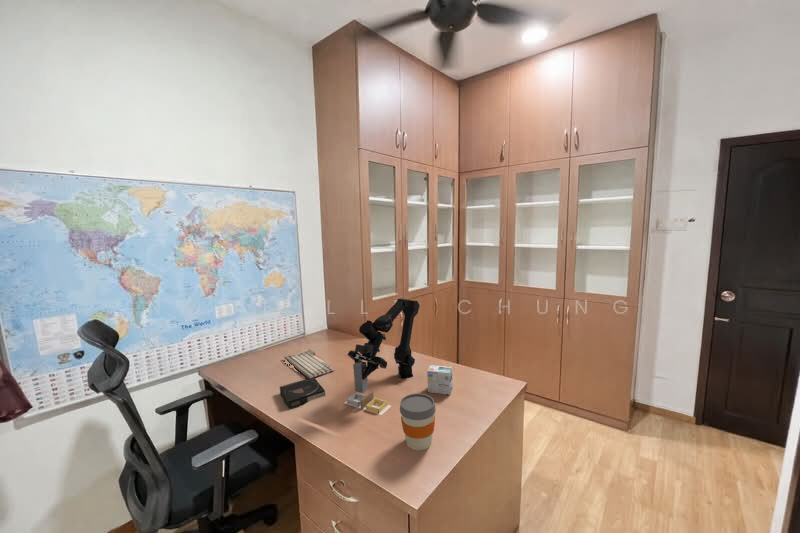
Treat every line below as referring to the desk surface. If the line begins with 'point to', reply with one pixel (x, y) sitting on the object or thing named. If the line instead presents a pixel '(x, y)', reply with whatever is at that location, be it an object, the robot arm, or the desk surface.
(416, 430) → the reusable coffee cup
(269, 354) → the desk surface
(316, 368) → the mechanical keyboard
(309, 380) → the portable cd player
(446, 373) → the light bulb box
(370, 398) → the board
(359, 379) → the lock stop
